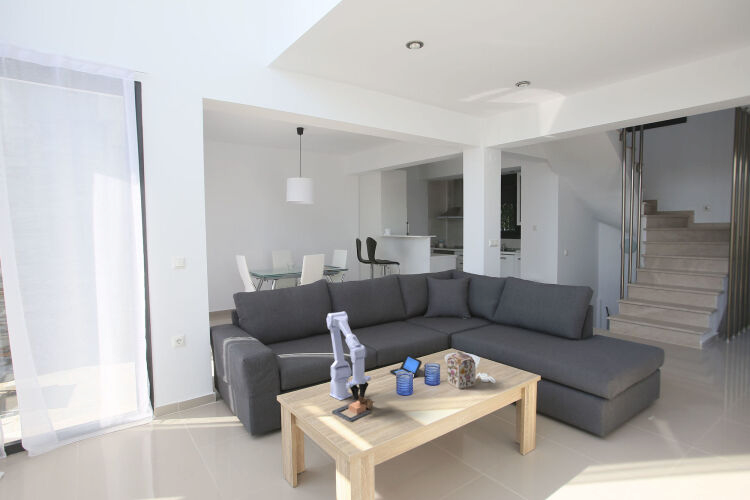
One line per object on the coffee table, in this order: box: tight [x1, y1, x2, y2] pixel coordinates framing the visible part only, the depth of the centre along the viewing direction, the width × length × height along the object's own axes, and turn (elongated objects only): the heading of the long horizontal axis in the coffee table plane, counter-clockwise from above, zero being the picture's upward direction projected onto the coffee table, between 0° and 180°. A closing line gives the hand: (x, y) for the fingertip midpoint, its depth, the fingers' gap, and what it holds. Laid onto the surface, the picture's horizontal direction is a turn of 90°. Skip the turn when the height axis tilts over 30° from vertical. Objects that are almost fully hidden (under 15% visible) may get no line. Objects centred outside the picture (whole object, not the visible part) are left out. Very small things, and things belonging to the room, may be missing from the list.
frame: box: [331, 402, 370, 423], centre depth 198 cm, size 13×12×1 cm
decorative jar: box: [446, 351, 477, 390], centre depth 232 cm, size 12×12×18 cm
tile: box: [348, 401, 367, 415], centre depth 201 cm, size 6×6×3 cm
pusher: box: [356, 394, 375, 410], centre depth 203 cm, size 8×4×8 cm
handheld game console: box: [389, 354, 423, 379], centre depth 248 cm, size 16×13×9 cm
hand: (358, 398), depth 202 cm, fingers closed on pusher, 3 cm apart
